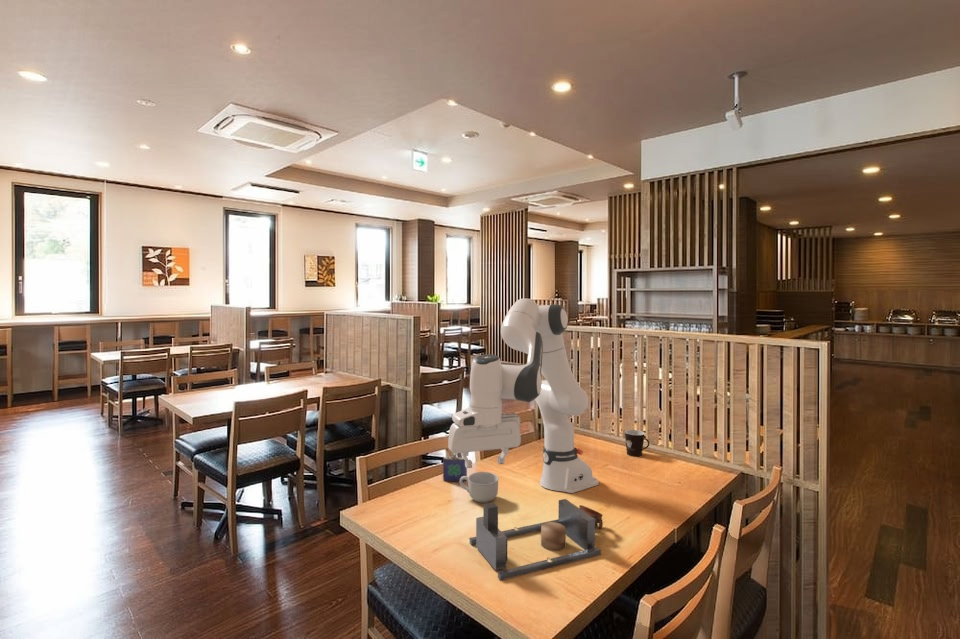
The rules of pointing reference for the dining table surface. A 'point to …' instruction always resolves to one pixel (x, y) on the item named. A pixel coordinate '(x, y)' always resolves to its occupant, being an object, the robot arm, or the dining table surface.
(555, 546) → the brown short cylinder
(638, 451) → the coffee mug
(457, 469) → the flask
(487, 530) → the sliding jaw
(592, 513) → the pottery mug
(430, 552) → the dining table surface
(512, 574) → the press frame
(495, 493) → the teacup
